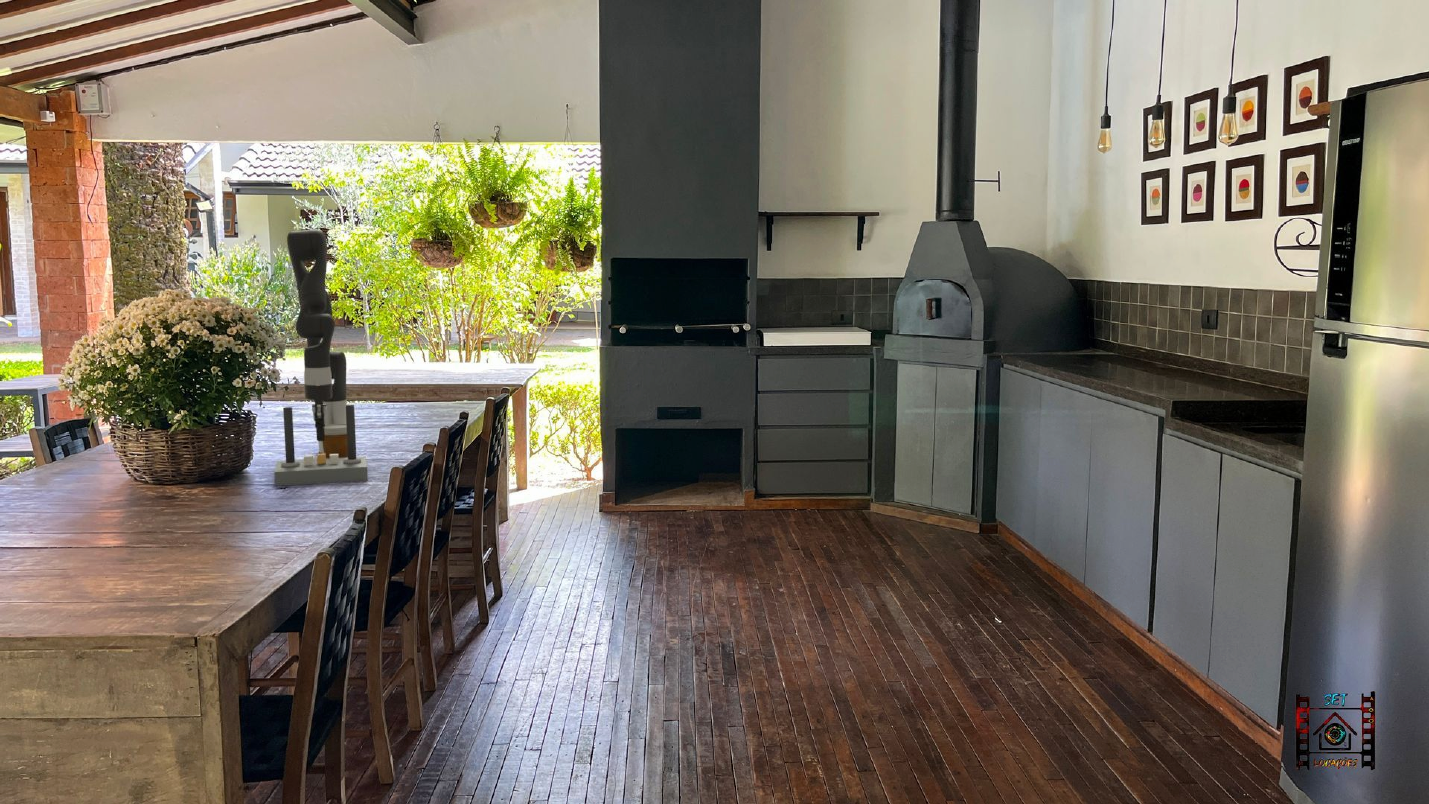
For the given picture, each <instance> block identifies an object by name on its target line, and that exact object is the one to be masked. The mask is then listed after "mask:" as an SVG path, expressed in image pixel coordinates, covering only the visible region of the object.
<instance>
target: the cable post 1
mask: <svg viewBox="0 0 1429 804" xmlns="http://www.w3.org/2000/svg"><path fill="white" fill-rule="evenodd" d="M282 410H283V411H282V413H283V414H282V415H283V428H284V448H285V460H283V461H284V462H281V467H297V466H300V461H295V460H296V458H295V441H294V440H295V438H294V437H295V436H294V419H293V418H294V415H293V407H292V406H291V407H289V406H287V407H286V406H285V407H283V408H282Z"/></svg>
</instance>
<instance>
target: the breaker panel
mask: <svg viewBox="0 0 1429 804" xmlns="http://www.w3.org/2000/svg"><path fill="white" fill-rule="evenodd" d="M358 457H359V458H361V462H360V463H357V464H345V463H343V459H345V458H339V457H338V454H330V458H327V459H326V463H323V464H317V458H314V454H310V455H308V454H307V455H304V456H303V459H295V461H300V466H297V467H281V462H284V461H285V460H277V461H276V465H275V468H274V472H273V474H274V475H273V476H274V487H278V486H279V487H281V486H294V485H295V486H296V485H310V484H311V485H313V484H329V483H345V482H362V481H365V482H366V481H368V462H367V456H358ZM346 458H348V457H346Z"/></svg>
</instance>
